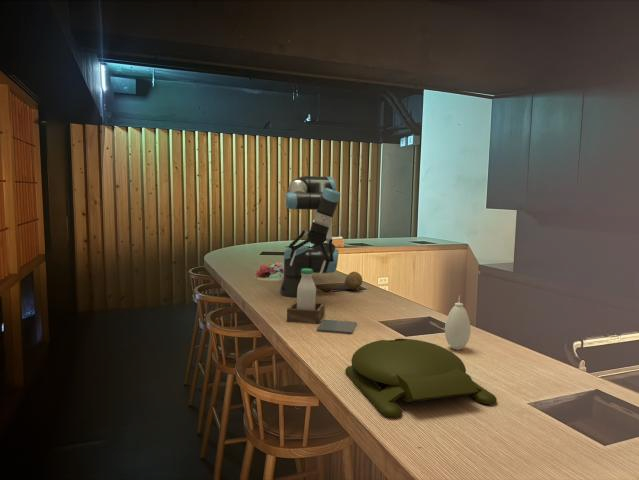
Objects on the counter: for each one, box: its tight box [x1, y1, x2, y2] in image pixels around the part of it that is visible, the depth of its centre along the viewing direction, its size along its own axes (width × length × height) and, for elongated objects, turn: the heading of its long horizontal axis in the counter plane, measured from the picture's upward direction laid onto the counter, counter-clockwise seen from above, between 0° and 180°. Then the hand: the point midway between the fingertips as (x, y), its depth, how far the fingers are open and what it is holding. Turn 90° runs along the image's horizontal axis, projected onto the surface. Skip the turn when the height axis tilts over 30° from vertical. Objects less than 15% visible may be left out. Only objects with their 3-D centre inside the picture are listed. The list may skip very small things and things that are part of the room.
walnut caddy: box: [286, 300, 326, 325], centre depth 183 cm, size 12×12×5 cm
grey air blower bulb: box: [444, 295, 471, 351], centre depth 150 cm, size 8×8×18 cm
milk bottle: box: [296, 268, 317, 310], centre depth 182 cm, size 8×8×20 cm
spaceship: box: [344, 338, 498, 419], centre depth 124 cm, size 35×31×10 cm
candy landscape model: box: [254, 261, 284, 282], centre depth 268 cm, size 25×24×9 cm
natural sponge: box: [344, 271, 363, 292], centre depth 235 cm, size 9×9×10 cm
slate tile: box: [316, 319, 357, 335], centre depth 172 cm, size 13×13×1 cm
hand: (305, 270), depth 200 cm, fingers open, 13 cm apart
